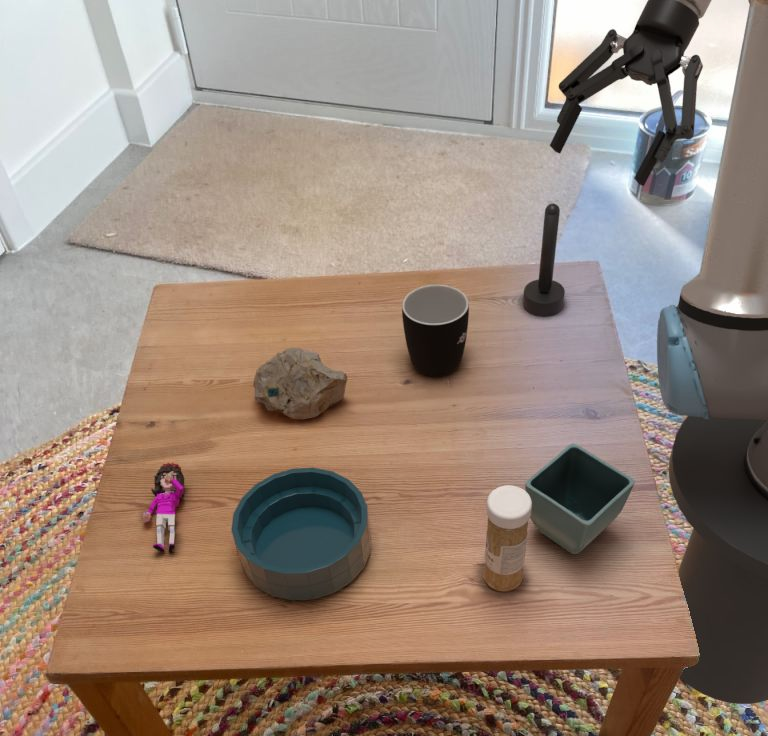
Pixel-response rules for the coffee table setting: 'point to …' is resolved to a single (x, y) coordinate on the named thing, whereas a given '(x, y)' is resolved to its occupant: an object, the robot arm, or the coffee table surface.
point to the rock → (298, 384)
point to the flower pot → (576, 497)
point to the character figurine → (166, 502)
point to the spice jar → (506, 537)
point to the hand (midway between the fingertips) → (595, 165)
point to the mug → (435, 328)
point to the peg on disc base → (546, 272)
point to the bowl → (302, 533)
